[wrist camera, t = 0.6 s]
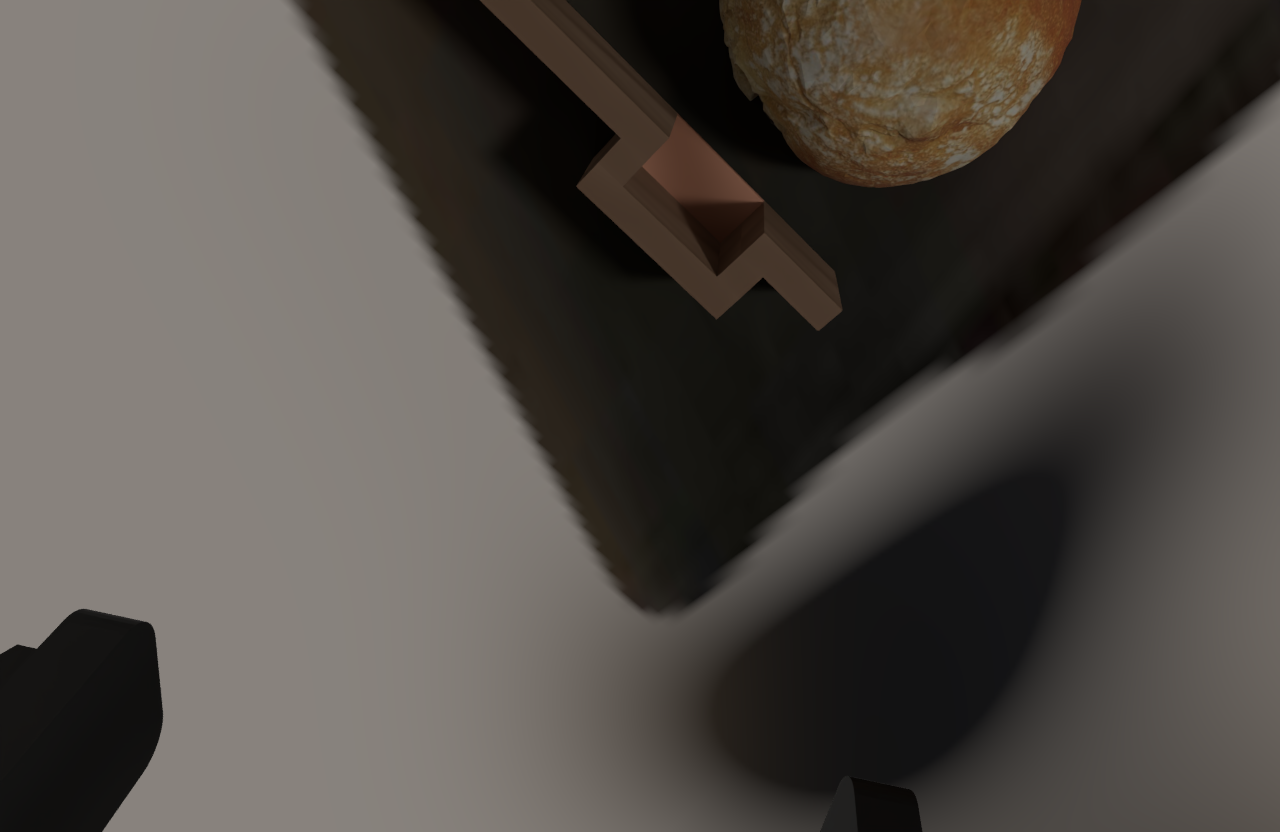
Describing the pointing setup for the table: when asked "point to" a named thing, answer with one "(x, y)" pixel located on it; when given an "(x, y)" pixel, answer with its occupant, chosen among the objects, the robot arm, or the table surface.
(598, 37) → the box
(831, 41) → the bread roll
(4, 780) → the robot arm
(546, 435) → the table surface
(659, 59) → the table surface
